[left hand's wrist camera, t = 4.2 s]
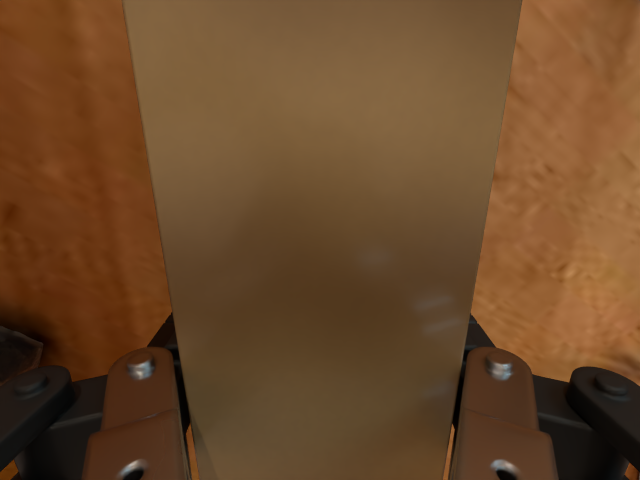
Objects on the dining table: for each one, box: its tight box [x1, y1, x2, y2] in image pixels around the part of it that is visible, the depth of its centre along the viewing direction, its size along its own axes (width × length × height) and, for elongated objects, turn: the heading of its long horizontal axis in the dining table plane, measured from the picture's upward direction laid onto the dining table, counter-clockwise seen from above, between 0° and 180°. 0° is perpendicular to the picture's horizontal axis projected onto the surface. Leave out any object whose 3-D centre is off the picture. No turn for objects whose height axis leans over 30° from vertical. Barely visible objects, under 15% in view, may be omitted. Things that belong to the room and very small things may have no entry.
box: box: [122, 0, 522, 480], centre depth 10 cm, size 24×6×12 cm, turn 0°
